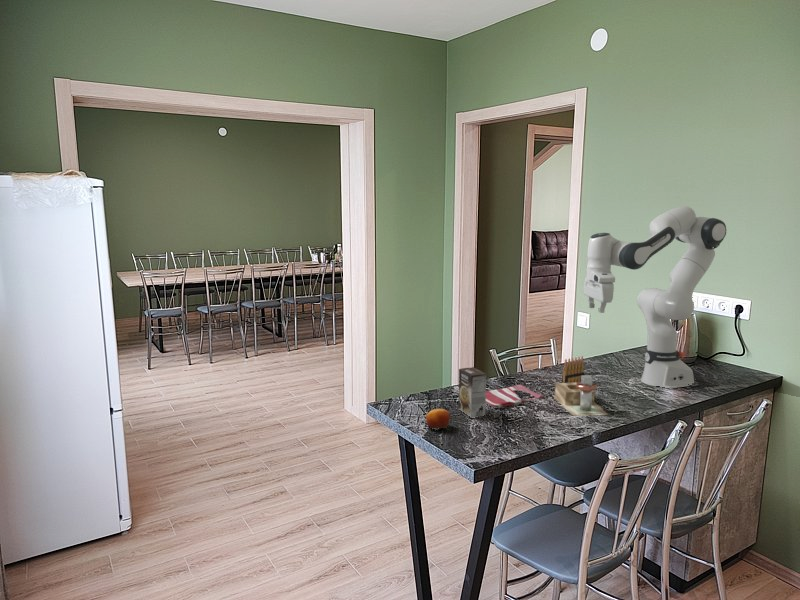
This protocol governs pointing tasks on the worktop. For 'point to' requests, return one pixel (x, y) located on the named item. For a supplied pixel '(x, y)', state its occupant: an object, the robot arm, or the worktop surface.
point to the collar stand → (574, 400)
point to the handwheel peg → (586, 392)
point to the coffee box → (472, 391)
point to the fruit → (438, 418)
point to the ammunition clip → (573, 370)
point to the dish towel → (508, 396)
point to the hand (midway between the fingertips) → (596, 310)
